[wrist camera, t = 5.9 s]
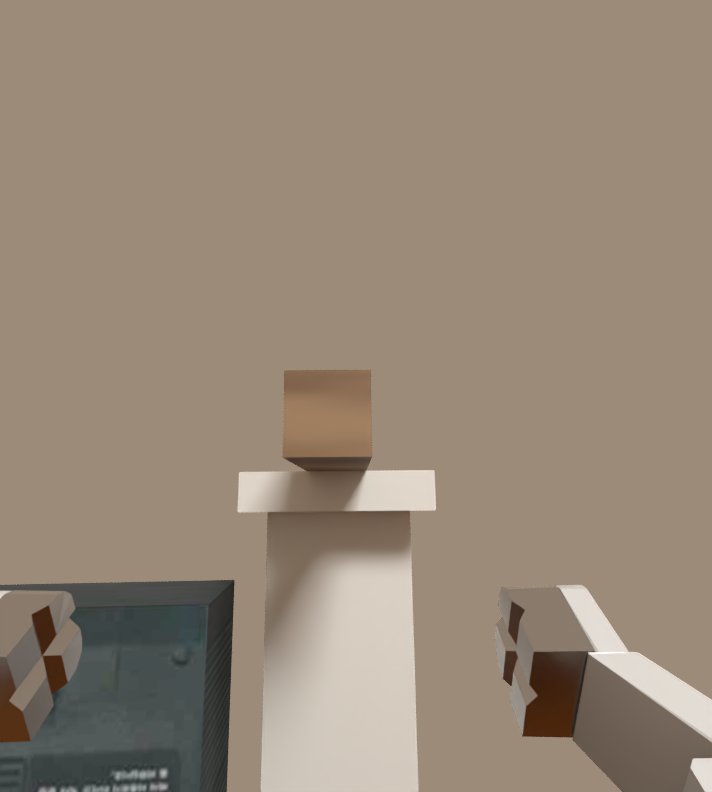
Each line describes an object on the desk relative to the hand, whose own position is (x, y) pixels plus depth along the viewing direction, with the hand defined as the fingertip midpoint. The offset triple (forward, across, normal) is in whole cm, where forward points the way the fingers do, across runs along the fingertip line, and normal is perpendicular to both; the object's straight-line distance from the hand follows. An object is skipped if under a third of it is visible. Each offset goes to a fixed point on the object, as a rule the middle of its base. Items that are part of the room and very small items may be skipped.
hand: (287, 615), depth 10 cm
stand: (+8, 0, -31) cm, 32 cm away
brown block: (+17, 0, -6) cm, 18 cm away
